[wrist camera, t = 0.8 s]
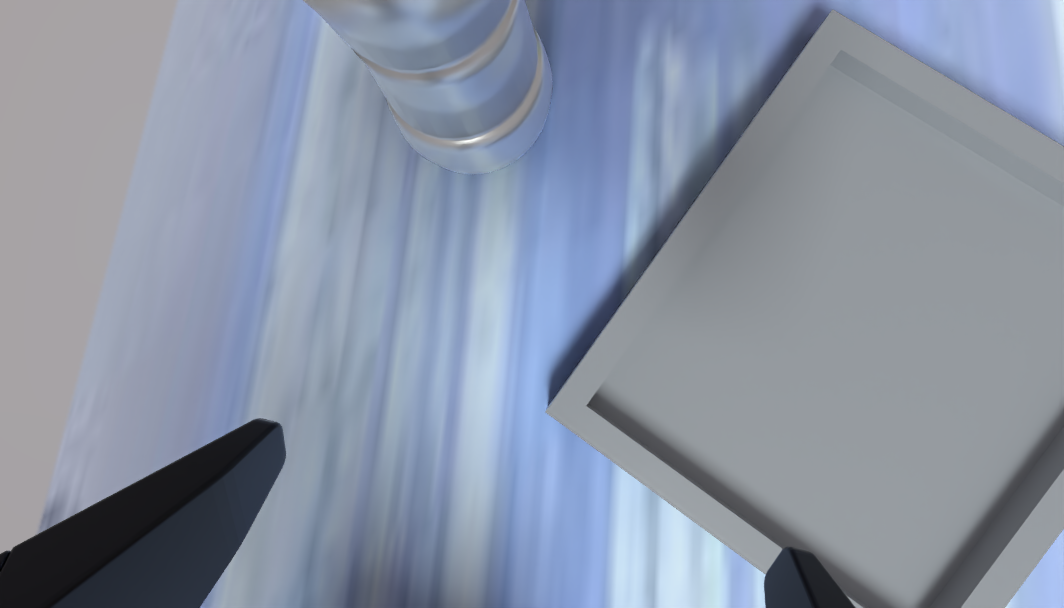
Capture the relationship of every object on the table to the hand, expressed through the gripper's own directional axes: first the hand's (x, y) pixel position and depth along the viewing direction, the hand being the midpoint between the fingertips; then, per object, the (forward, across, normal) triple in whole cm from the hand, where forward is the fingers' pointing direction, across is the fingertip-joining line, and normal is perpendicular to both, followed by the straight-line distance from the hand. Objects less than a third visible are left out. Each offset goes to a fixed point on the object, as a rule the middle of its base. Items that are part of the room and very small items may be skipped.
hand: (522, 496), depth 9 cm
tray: (+14, -12, +3) cm, 19 cm away
